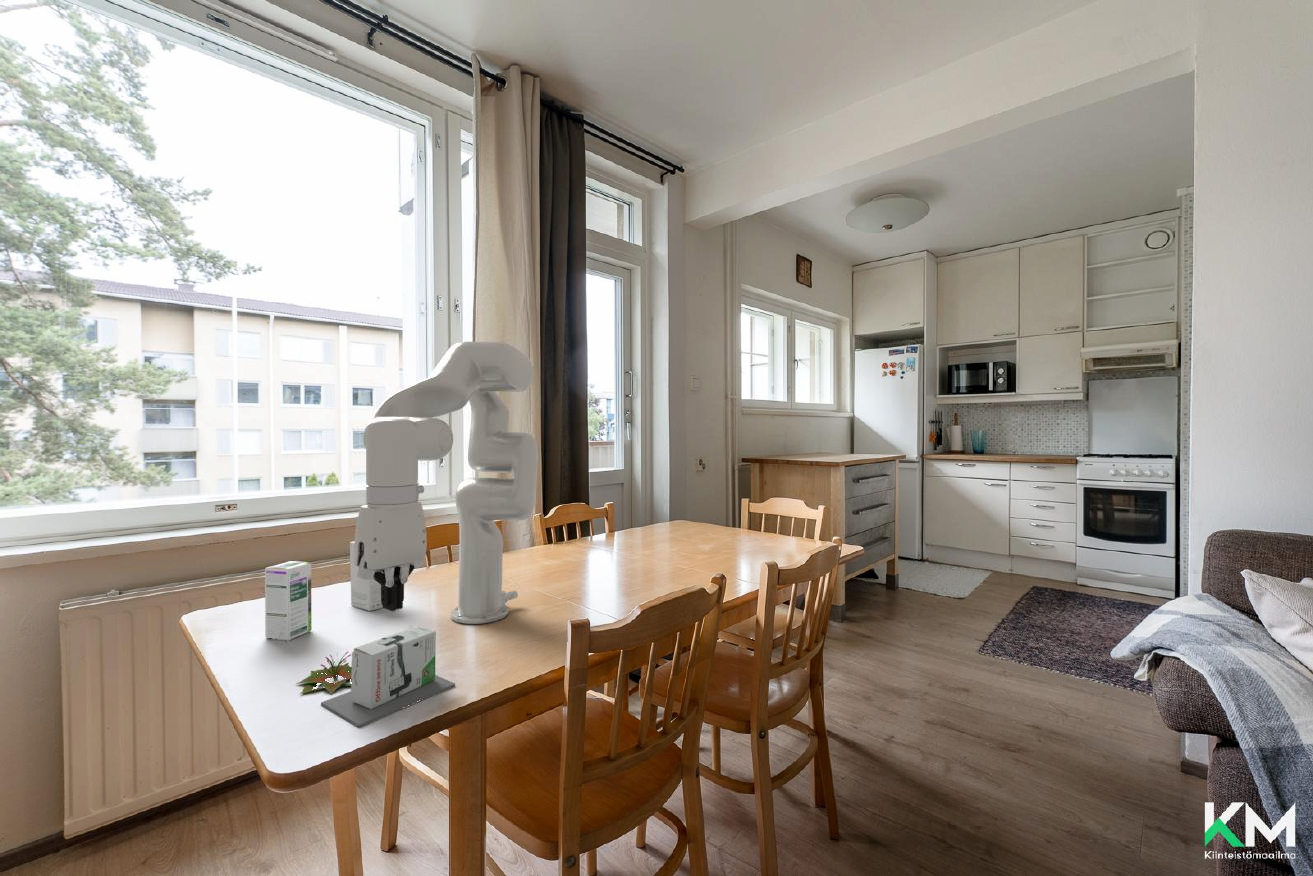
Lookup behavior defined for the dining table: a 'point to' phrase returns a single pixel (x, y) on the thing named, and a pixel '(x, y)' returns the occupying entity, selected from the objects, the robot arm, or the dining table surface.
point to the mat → (364, 715)
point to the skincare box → (363, 588)
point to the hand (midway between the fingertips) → (392, 608)
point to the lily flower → (328, 676)
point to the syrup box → (288, 600)
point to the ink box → (392, 666)
